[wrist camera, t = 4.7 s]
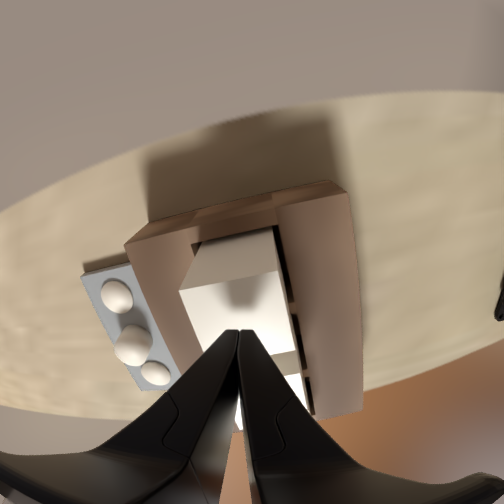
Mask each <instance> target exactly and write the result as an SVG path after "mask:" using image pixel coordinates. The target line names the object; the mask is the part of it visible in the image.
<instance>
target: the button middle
mask: <svg viewBox="0 0 504 504" xmlns="http://www.w3.org/2000/svg"><path fill="white" fill-rule="evenodd" d="M290 319H291V325H292V332H293V339H294V345H295V350H294V351H289V352H283V353H278V354H273V355H270V356H271V358H272V359H273V361H274V362H275V364H276V365H277V367H278V368H279V370H280V371H281V373H282V374H283V376H284V377H285V379H286V380H287V382H288V383H289V385H290V386H291V388H292V389H293V391H294V392H295V394H296V396H298V398H299V399H300V401H301V402H302V404H303V405H304V407H305V408H306V409H307V411H308V406H307V400H306V393H305V386H304V380H303V374H302V367H301V361H300V355H299V349H298V344H297V339H296V334H295V330H294V325H293V320H292V315H291V314H290ZM235 421H236V423H237V425H238V427H239V429H240V430H242V429H243V427H242V418H241V409H240V398H239V399H238V406H237V411H236V416H235Z"/></svg>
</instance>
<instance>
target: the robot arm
mask: <svg viewBox="0 0 504 504" xmlns="http://www.w3.org/2000/svg"><path fill="white" fill-rule="evenodd" d="M494 317H495V319H496V320H497V321H503V320H504V289H503V292H502V295H501V298H500V301H499V304H498V307H497V310H496V313H495V316H494ZM239 398H240V409H241V418H242V427H243V436H244V444H245V451H246V461H247V468H248V476H249V484H250V492H251V499H252V504H492V503H494V502H495V501H496V500H497V499H499V498H500V497H501V496H502V495H503V494H504V480H502V479H501V478H499V477H497V476H494V475H490V474H486V473H483V472H478V473H475V474H472V475H469V476H467V477H464V478H462V479H460V480H457V481H454V482H451V483H445V484H427V483H421V482H417V481H412V480H408V479H404V478H400V477H396V476H392V475H389V474H385V473H381V472H378V471H374V470H371V469H369V468H366V467H364V466H363V465H361V464H359V463H358V462H356V461H355V460H354V459H353V458H352V457H351V456H350V455H348V454H347V453H346V452H345V451H344V450H343V449H342V448H341V447H340V446H339V445H338V444H337V443H336V442H335V441H334V440H333V438H331V436H330V435H329V434H328V433H327V432H326V431H325V430H324V429H323V428H322V427H321V426H320V425H319V424H318V423H317V422H316V420H315V419H314V418H313V417H312V416H311V415H310V413H309V412H308V411H307V409H306V408H305V407H304V405H303V404H302V402H301V401H300V399H299V398H298V396H296V394H295V392H294V391H293V389H292V388H291V386H290V385H289V383H288V382H287V380H286V379H285V377H284V376H283V374H282V373H281V371H280V370H279V368H278V367H277V365H276V364H275V362H274V361H273V359H272V358H271V356H270V354H269V353H268V351H267V350H266V348H265V347H264V345H263V344H262V342H261V341H260V339H259V337H258V336H257V334H256V333H255V331H254V330H253V329H241V330H240V331H239V330H238V329H226V330H225V331H224V332H223V333H222V334H221V335H220V336H219V337H218V338H217V339H216V340H215V341H214V342H213V343H212V344H211V346H210V347H209V348H208V349H207V350H206V351H205V352H204V353H203V354H202V355H201V356H200V357H199V358H198V359H197V360H196V361H195V362H194V363H193V364H192V365H191V366H190V367H189V369H188V370H187V371H186V372H185V373H184V374H183V375H182V376H181V377H180V378H179V379H178V380H177V381H176V382H175V383H174V384H173V385H172V386H171V387H170V388H169V389H168V390H167V392H165V393H164V394H163V395H162V396H161V397H160V398H159V399H158V400H157V401H156V402H155V403H154V404H153V405H152V406H151V407H150V408H148V409H147V410H146V411H145V412H144V413H143V414H141V415H140V416H139V417H138V418H136V419H135V420H134V421H133V422H131V423H130V424H129V425H127V426H126V427H125V428H123V429H122V430H121V431H119V432H118V433H117V434H115V435H114V436H113V437H111V438H110V439H109V440H107V441H106V442H104V443H103V444H101V445H100V446H98V447H96V448H94V449H92V450H89V451H86V452H80V453H70V454H56V455H55V454H54V455H13V454H8V453H4V452H2V451H0V494H1V495H3V496H4V497H5V499H4V501H3V504H219V499H220V494H221V489H222V484H223V479H224V474H225V469H226V464H227V458H228V453H229V448H230V442H231V438H232V432H233V427H234V422H235V416H236V411H237V406H238V399H239Z"/></svg>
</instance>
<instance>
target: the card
mask: <svg viewBox="0 0 504 504" xmlns="http://www.w3.org/2000/svg"><path fill="white" fill-rule="evenodd" d="M80 278H81V281H82V283H83V285H84V287H85V289H86V292H87V294H88V296H89V298H90V300H91V302H92V304H93V306H94V308H95V311H96V313H97V315H98V317H99V319H100V320H101V322H102V324H103V326H104V328H105V330H106V332H107V334H108V336H109V338H110V339H111V341H112V343H113V345H114V352H115V354H116V356H117V357H118V358H119V359H120V360H121V361H122V362H124V364H125V366H126V367H127V369H128V371H129V372H130V374H131V376H132V377H133V379H134V380H135V382H136V384H137V385H138V387H139V388H140V390H141V391H154V390H168V389H169V388H170V387H171V386H172V385H173V384H174V383H175V382H176V381H177V380H178V379H179V378H180V377H181V376H182V375H181V373H180V372H179V370H178V368H177V366H176V364H175V362H174V360H173V358H172V356H171V354H170V352H169V350H168V348H167V346H166V344H165V342H164V339H163V337H162V335H161V333H160V331H159V329H158V327H157V325H156V322H155V320H154V318H153V316H152V314H151V311H150V309H149V307H148V305H147V302H146V300H145V298H144V295H143V293H142V291H141V288H140V286H139V283H138V281H137V278H136V276H135V273H134V271H133V268H132V266H131V263H130V262H128V263H124V264H120V265H115V266H111V267H107V268H103V269H99V270H95V271H91V272H87V273H84V274H83V275H82V276H81V277H80Z"/></svg>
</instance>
